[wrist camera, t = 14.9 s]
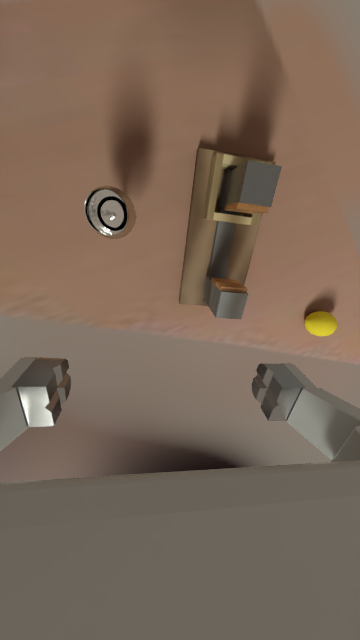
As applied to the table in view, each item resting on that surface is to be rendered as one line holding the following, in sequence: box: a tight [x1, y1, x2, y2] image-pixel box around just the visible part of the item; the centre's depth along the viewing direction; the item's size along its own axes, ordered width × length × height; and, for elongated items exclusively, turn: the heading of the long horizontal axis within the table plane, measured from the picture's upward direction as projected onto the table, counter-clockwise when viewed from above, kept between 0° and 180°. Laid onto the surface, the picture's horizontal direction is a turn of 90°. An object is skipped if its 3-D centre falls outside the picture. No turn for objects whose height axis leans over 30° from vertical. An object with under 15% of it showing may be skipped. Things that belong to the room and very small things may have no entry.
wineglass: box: [84, 186, 136, 239], centre depth 28 cm, size 6×6×12 cm
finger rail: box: [179, 148, 275, 319], centre depth 32 cm, size 12×24×12 cm, turn 173°
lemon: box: [304, 311, 337, 336], centre depth 44 cm, size 7×5×5 cm
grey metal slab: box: [218, 160, 282, 214], centre depth 28 cm, size 5×4×9 cm
